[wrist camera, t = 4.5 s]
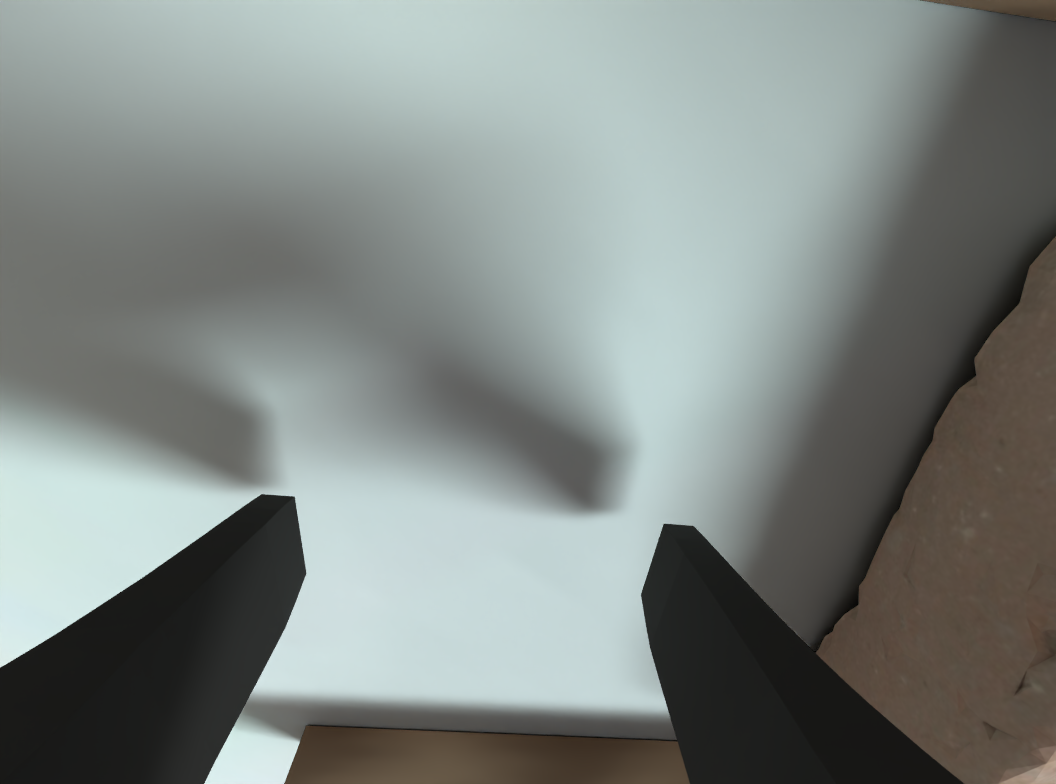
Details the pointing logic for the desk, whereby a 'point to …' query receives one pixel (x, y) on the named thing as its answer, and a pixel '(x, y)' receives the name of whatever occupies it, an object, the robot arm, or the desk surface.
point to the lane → (506, 759)
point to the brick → (973, 569)
